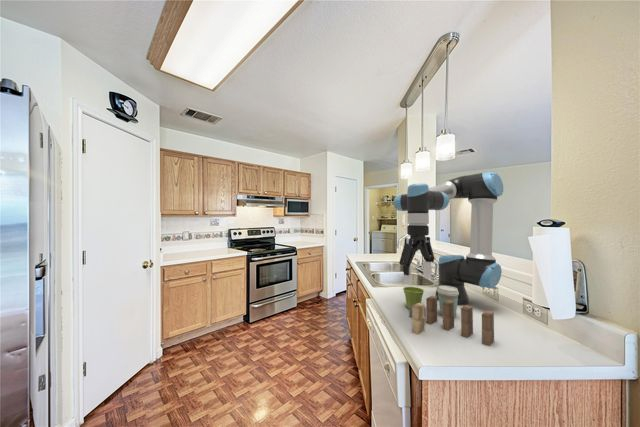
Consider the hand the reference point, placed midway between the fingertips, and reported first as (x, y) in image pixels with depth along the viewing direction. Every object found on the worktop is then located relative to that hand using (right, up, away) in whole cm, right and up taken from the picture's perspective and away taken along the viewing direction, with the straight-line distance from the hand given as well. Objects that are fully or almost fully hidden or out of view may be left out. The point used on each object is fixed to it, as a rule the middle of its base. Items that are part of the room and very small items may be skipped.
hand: (417, 281), depth 87 cm
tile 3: (+17, -19, -3) cm, 25 cm away
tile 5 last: (+9, -19, +8) cm, 22 cm away
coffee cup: (+19, -19, +14) cm, 31 cm away
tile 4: (+13, -19, +3) cm, 23 cm away
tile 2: (+21, -19, -8) cm, 29 cm away
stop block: (+5, -19, +13) cm, 24 cm away
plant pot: (+8, -20, +23) cm, 31 cm away
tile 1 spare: (0, -19, 0) cm, 19 cm away
